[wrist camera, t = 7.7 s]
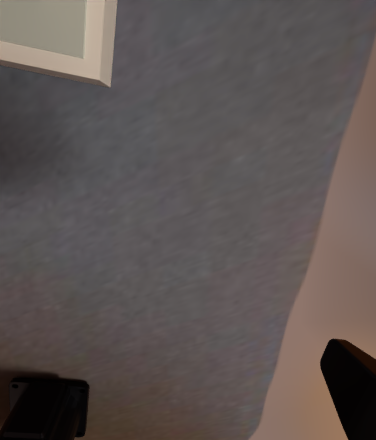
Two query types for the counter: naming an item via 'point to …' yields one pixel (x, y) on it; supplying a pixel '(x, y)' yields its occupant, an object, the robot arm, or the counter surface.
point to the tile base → (59, 38)
